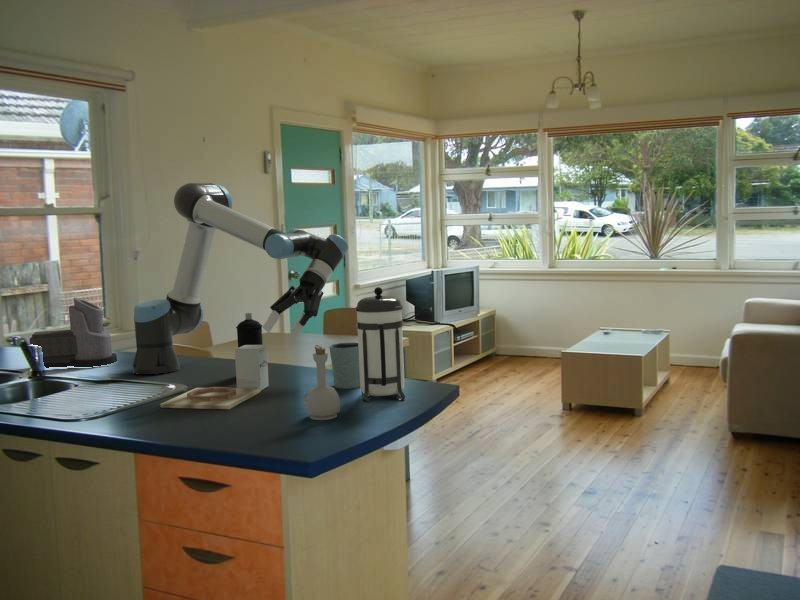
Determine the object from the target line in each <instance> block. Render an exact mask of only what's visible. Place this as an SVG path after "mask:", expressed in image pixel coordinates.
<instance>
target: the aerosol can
mask: <svg viewBox="0 0 800 600" xmlns="http://www.w3.org/2000/svg"><path fill="white" fill-rule="evenodd" d="M244 314H245V319H244V320H243V321H241V322H239V323H238V324H237V326H236V327H235V328H236V333H237V337H236V338H237V348H239V347H241V346H244V345H264V344H263V342H264V341H263V329H262V328H263V325H262V324H261V323H260V322H259V321H258V320H255V319H253V315H252V312H246V313H244Z"/></svg>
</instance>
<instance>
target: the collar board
mask: <svg viewBox="0 0 800 600" xmlns="http://www.w3.org/2000/svg"><path fill="white" fill-rule="evenodd" d="M260 393H261V391H260V389H244V388H237V387H236V388H232V387H230V386H212V387H211V386H208V387H195V388H193V389H190V390H188V391H187V392H184V393H182V394H179V395H178V396H175V397H173V398H171V399H169V400H166V401H164V402H162V403H160V409H162V408H163V409H164V408H165V409H167V408H168V409H169V408H170V409H203V410H205V409H207V410H230V409H232V408H234V407H236V406H238V405H239V404H241V403H243V402H245V401H246V400H249V399H251V398H252V397H254V396H256V395H257V394H260Z"/></svg>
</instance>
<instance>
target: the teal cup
mask: <svg viewBox="0 0 800 600" xmlns="http://www.w3.org/2000/svg"><path fill="white" fill-rule="evenodd" d="M329 354H330V355H329V356H330V359H331V367H332V368H331V369H332V374H333V375H332V376H333V386H334V388H338V389H347V390H348V389H356V388H360V370H359V348H358V342H340V343H333V344H330V345H329Z"/></svg>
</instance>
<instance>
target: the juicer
mask: <svg viewBox="0 0 800 600" xmlns="http://www.w3.org/2000/svg"><path fill="white" fill-rule="evenodd" d="M103 315H104V310H103V309H102V308H101V307H99V306H98V305H96V304H94V303H92V302H89V301H87V300H84V299H81V298H80V297H75V296H74V297H73V305H69V306H68V316H69V326H70V329H61V330H57V329H56V330H47V331H35V332H34V333H33V334H31V337H30V338H29V345H30V344H33V345H38V346H41V347H42V352H43V362H44V366H45V367H46V368H49V367H67V366H74V367H93V366H101V365H107V364H111V363H114V362H116V361H117V360H118V359H117V353H115V352H113V348H112V347H113V346H112V335H111V334H110V333H109V332H107V331H105V330H104V329H105V328H104V317H103Z"/></svg>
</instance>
